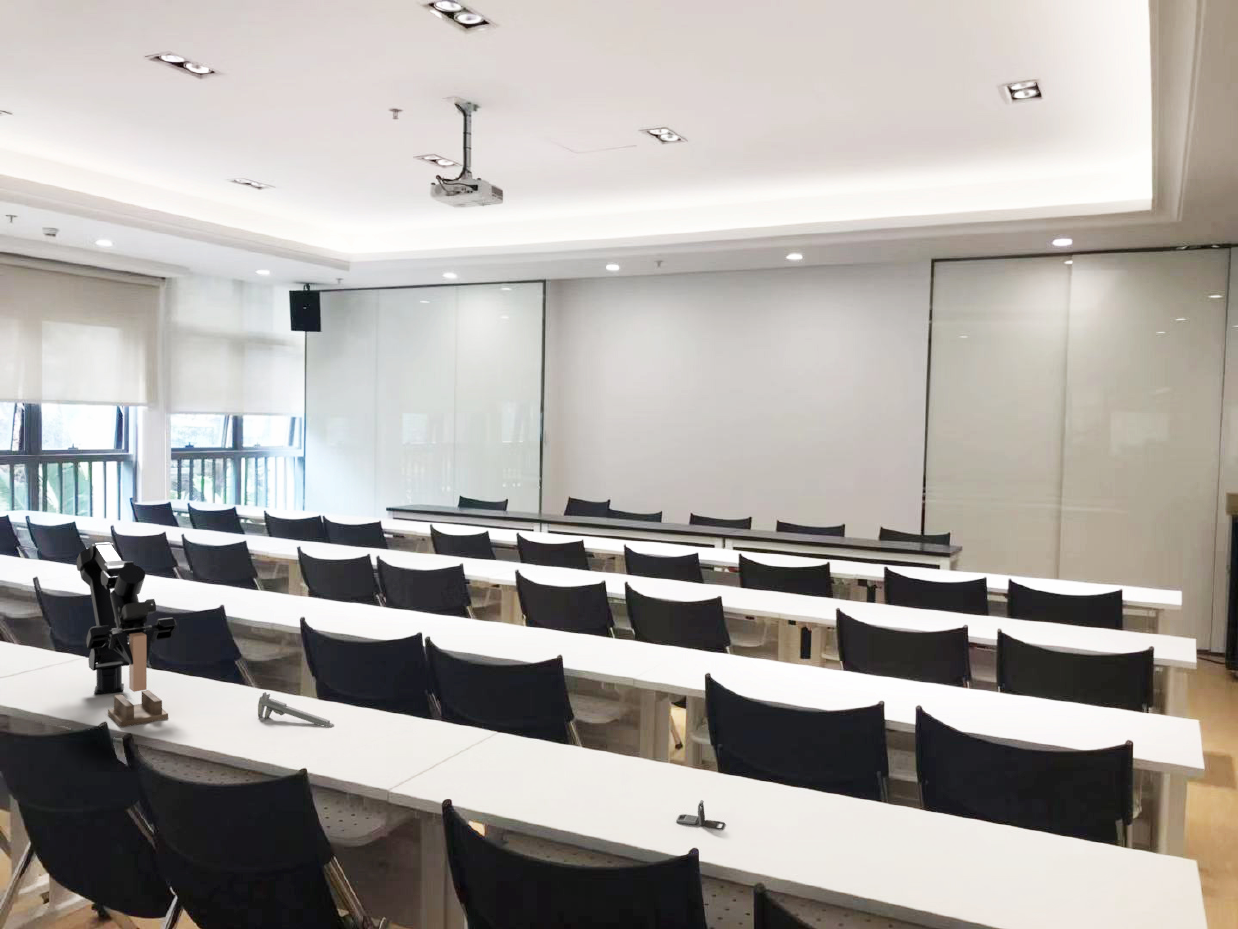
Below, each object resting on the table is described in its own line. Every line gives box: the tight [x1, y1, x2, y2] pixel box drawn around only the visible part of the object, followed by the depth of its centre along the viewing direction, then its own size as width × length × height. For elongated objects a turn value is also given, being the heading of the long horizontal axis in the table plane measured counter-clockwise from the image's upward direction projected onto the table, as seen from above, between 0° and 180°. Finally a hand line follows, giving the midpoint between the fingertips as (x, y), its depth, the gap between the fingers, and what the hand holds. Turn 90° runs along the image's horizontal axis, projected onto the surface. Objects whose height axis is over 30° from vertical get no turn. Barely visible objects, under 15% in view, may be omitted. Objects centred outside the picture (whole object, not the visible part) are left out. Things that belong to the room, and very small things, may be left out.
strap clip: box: [675, 799, 726, 831], centre depth 165 cm, size 8×3×4 cm, turn 73°
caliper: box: [257, 691, 335, 728], centre depth 216 cm, size 20×1×6 cm, turn 73°
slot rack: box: [107, 689, 169, 728], centre depth 218 cm, size 12×10×4 cm
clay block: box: [128, 632, 148, 693], centre depth 217 cm, size 4×3×13 cm
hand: (139, 662), depth 216 cm, fingers closed on clay block, 3 cm apart
